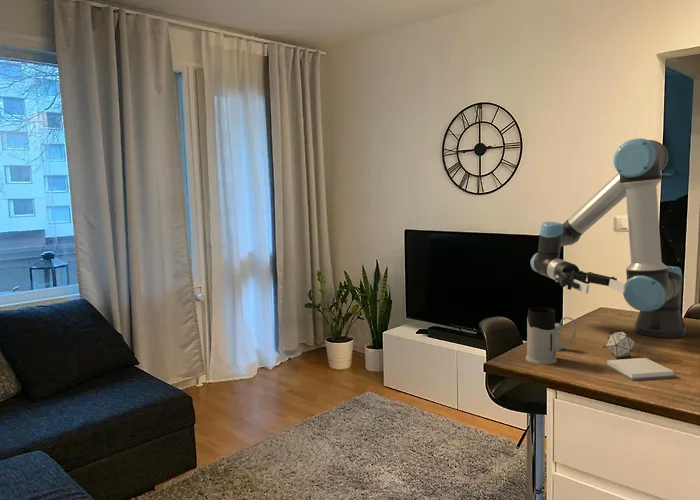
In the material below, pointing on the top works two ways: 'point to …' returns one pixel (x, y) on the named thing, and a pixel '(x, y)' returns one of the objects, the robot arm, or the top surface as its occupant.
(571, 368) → the top surface
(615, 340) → the game die
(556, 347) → the rook chess piece
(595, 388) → the top surface
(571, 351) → the top surface
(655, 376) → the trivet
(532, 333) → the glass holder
